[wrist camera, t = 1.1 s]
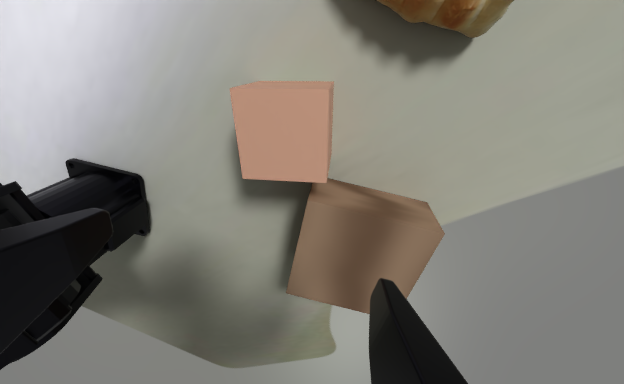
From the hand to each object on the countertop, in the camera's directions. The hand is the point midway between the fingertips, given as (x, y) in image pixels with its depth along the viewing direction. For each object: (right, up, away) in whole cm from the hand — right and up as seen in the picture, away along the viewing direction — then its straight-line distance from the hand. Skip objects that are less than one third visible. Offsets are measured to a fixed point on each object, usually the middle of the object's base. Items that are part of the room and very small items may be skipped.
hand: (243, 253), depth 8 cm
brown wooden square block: (+6, -2, +14) cm, 15 cm away
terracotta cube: (+1, +7, +10) cm, 12 cm away
